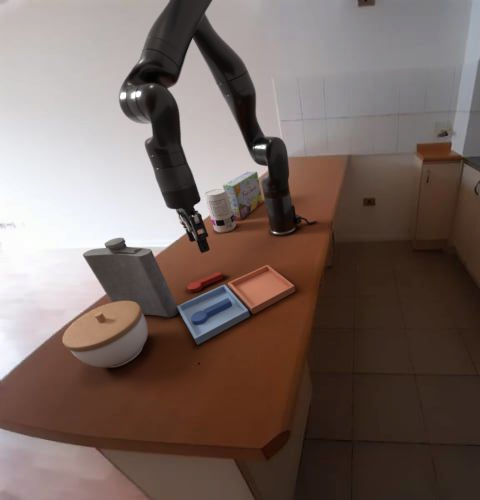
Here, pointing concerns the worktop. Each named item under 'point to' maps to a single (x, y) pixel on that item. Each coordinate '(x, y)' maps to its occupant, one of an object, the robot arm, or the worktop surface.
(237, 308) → the blue tray
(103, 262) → the hip flask
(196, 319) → the blue spoon
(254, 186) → the snack box
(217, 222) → the supplement can
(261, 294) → the orange tray
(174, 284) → the worktop surface
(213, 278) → the red spoon
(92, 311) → the lidded bowl
